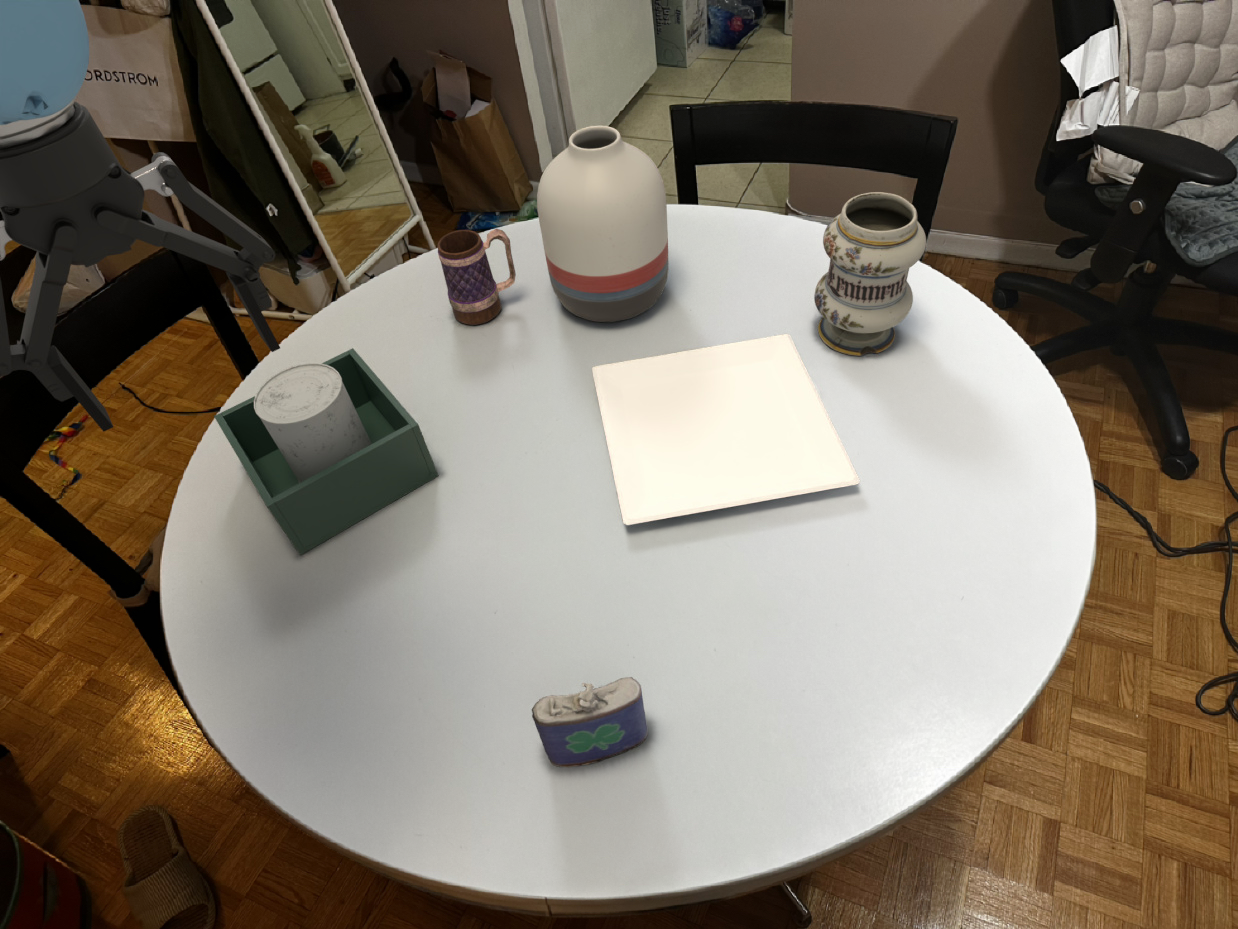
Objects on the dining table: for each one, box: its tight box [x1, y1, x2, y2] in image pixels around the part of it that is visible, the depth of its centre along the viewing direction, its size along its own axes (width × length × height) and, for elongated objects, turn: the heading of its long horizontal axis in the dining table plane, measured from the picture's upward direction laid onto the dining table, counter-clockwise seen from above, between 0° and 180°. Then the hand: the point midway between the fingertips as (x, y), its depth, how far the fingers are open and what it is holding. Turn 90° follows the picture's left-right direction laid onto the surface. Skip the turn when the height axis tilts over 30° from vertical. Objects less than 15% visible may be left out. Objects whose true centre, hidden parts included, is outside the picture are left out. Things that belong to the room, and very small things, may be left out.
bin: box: [213, 347, 439, 556], centre depth 91 cm, size 18×18×9 cm
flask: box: [531, 676, 649, 768], centre depth 66 cm, size 9×3×11 cm, turn 103°
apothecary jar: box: [814, 191, 927, 357], centre depth 97 cm, size 12×12×18 cm
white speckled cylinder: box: [254, 362, 372, 483], centre depth 90 cm, size 10×10×12 cm
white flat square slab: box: [591, 333, 861, 526], centre depth 93 cm, size 26×26×2 cm
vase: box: [536, 125, 669, 323], centre depth 104 cm, size 17×17×24 cm
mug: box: [437, 228, 516, 326], centre depth 109 cm, size 10×7×12 cm
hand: (191, 380), depth 63 cm, fingers open, 13 cm apart
